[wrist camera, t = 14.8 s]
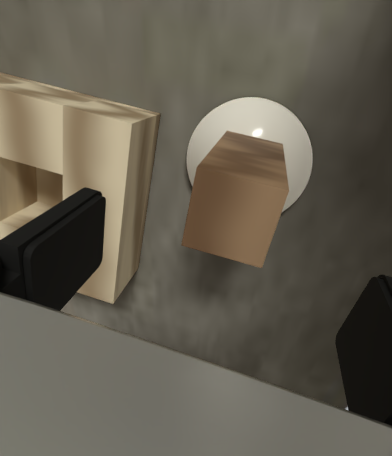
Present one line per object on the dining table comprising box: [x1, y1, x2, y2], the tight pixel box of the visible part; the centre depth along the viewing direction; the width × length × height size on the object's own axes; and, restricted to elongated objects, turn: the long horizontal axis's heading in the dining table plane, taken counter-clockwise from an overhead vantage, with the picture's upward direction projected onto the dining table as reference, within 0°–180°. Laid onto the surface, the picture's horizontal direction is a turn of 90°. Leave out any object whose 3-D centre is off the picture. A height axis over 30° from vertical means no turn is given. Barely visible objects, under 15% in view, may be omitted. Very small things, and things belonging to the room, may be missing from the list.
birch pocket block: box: [0, 73, 160, 304], centre depth 28 cm, size 16×16×6 cm
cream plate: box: [187, 97, 313, 212], centre depth 26 cm, size 10×10×1 cm
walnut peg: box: [182, 131, 289, 268], centre depth 20 cm, size 4×4×11 cm
